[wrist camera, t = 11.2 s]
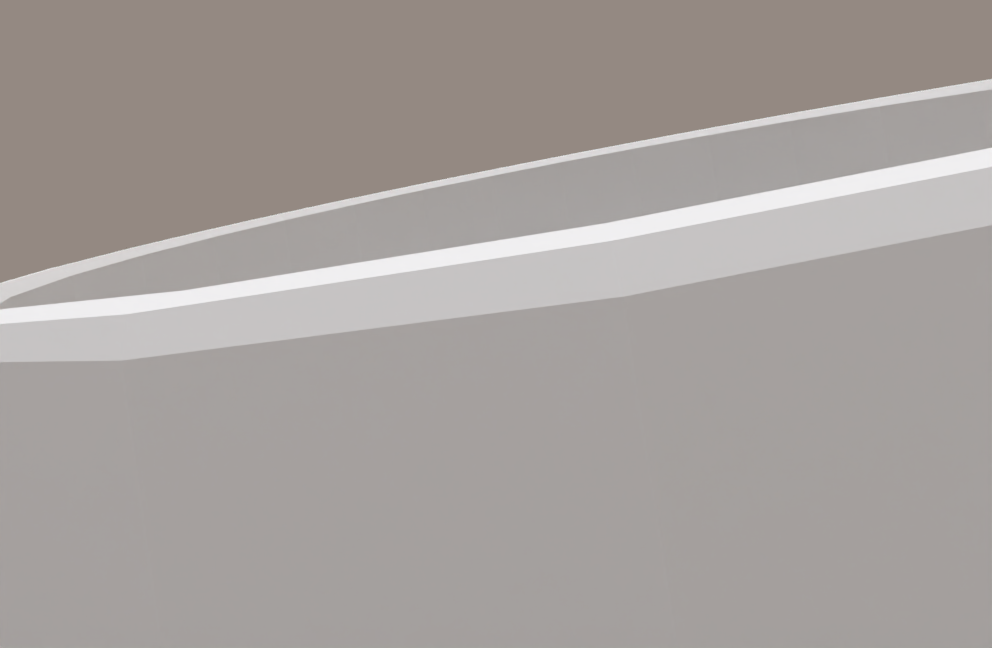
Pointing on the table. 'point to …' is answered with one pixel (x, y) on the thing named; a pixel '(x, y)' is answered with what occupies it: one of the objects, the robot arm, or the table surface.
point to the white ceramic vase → (530, 406)
